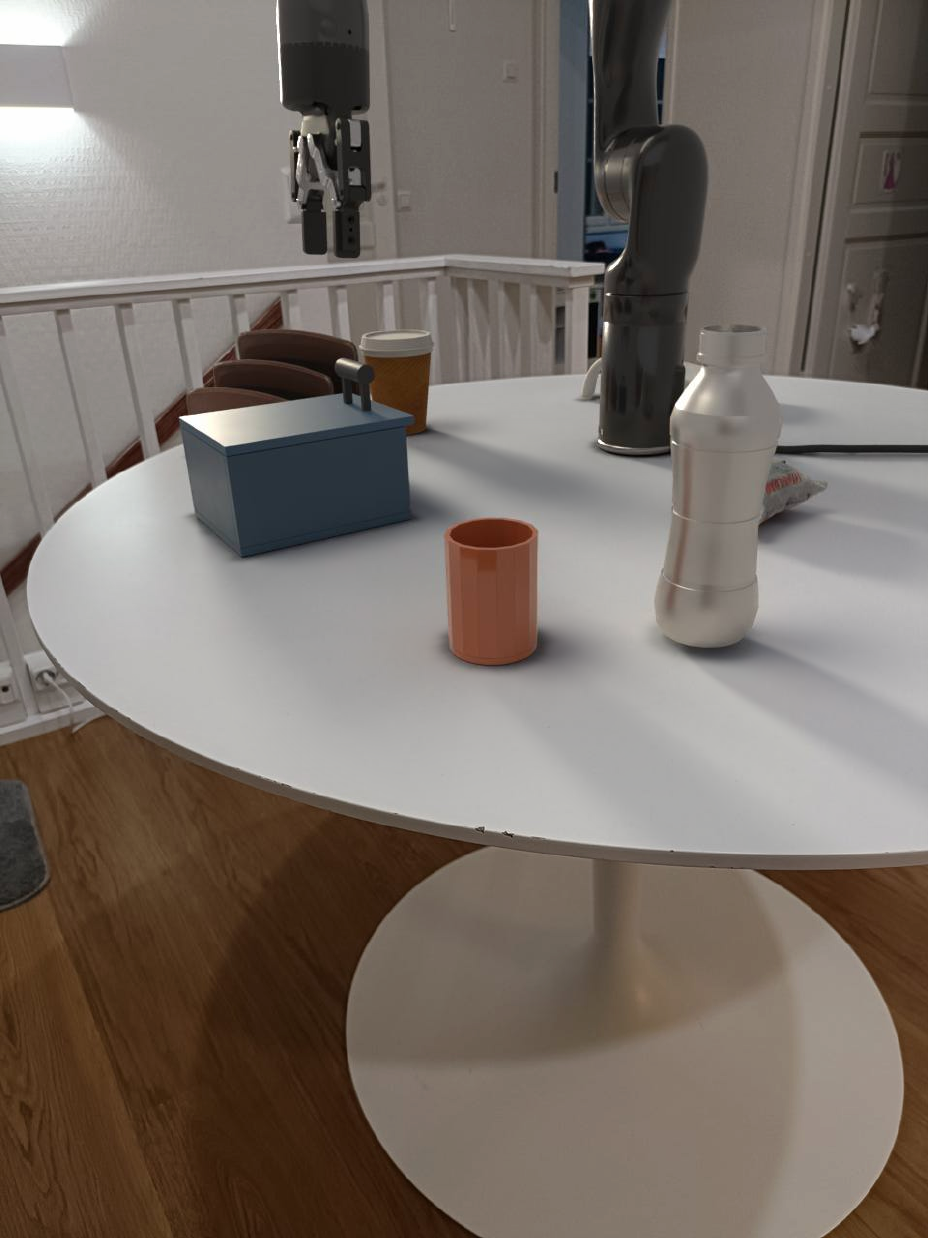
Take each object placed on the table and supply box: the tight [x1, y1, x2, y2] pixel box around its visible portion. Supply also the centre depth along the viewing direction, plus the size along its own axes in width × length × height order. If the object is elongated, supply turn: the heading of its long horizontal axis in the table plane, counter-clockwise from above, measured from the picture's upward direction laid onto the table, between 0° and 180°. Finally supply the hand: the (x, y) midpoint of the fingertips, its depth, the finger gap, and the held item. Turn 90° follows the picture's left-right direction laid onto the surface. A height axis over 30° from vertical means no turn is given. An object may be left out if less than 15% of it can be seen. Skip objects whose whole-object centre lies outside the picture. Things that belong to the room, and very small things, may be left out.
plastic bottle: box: [653, 323, 784, 649], centre depth 55 cm, size 6×7×20 cm
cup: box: [443, 517, 539, 666], centre depth 58 cm, size 6×6×8 cm
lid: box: [178, 358, 414, 456], centre depth 80 cm, size 18×14×5 cm
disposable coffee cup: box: [358, 329, 436, 436], centre depth 113 cm, size 10×10×12 cm
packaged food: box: [759, 458, 829, 525], centre depth 80 cm, size 9×12×5 cm
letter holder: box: [185, 328, 361, 416], centre depth 101 cm, size 10×20×14 cm, turn 54°
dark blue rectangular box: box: [179, 425, 412, 558], centre depth 82 cm, size 17×14×9 cm
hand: (330, 256), depth 80 cm, fingers open, 8 cm apart
